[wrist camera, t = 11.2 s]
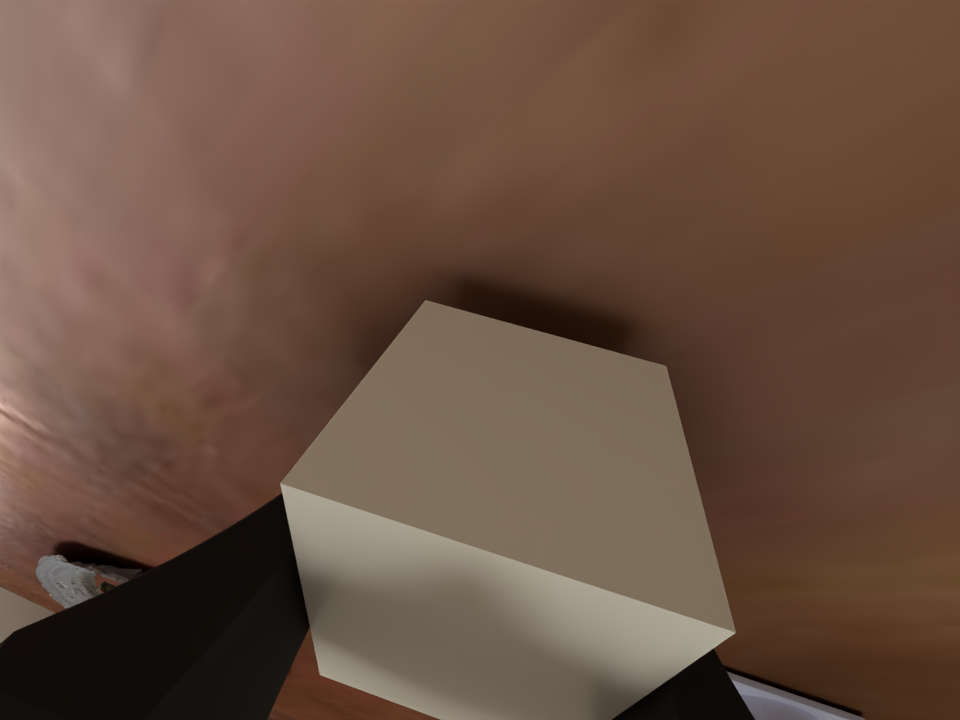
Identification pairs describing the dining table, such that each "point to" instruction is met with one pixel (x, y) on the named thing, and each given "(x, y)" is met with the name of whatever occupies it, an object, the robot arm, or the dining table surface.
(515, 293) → the dining table surface
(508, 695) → the cream rectangular block
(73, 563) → the food plate
